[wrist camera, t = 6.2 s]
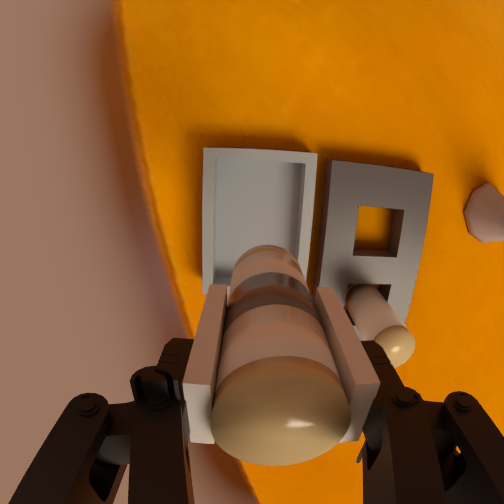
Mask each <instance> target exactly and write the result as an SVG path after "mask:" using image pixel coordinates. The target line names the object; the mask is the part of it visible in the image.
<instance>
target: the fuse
mask: <svg viewBox="0 0 504 504" xmlns="http://www.w3.org/2000/svg"><path fill="white" fill-rule="evenodd" d="M344 305H345V306H346V308H347V310H348V312H349V314H350V316H351V318H352V320H353V321H354V323H355V325H356V327H357V329H358V331H359V333H360V335H361V337H362V339H363V341H367V340H374V341H375V342H376V343H378V344H379V345H380V346H381V347H383V349H384V351H385V353H386V354H387V357H388V358H389V360H390V361H391V364H392V365H393V367H394V368H396V367H398V366H400V365H402V364H403V363H405V362H406V361H407V360H408V359H409V358H410V357H411V355H412V353H413V352H414V349H415V339H414V337H413V335H412V334H411V333H410V331H409V330H408V329H407V327H406V326H405V325H404V323H403V322H402V321H401V319H400V318H399V317H398V315H397V314H396V313H395V311H394V310H393V309H392V308H391V306H390V305H389V304H388V302H387V301H386V300H385V299H384V297H383V296H382V295H381V294H380V292H379V291H378V290H377V288H376V287H375V286H374V285H373V284H349V285H348V287H347V292H346V298H345V304H344Z"/></svg>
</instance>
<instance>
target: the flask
mask: <svg viewBox="0 0 504 504" xmlns="http://www.w3.org/2000/svg"><path fill="white" fill-rule="evenodd" d="M464 215H465V219H466V223H467V227H468V231H469V234H471V235H472V236H474V237H475V238H476V239H478V240H479V241H480V242H482V243H485V242H495V241H504V196H503V195H502V194H501V193H500V192H499V191H498V190H497V189H495V188H494V187H493V186H492V185H491V184H490V183H489V182H487V183H486V184H484V185H482V186H481V187H479V188H478V189H476V190H474V191H473V193H472V195H471V197H470V199H469V202H468V204H467V206H466V208H465V211H464Z"/></svg>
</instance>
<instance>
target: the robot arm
mask: <svg viewBox="0 0 504 504" xmlns="http://www.w3.org/2000/svg"><path fill="white" fill-rule="evenodd" d="M314 305H315V308H316V311H317V314H318V316H319V319H320V322H321V325H322V327H323V330H324V333H325V336H326V339H327V342H328V344H329V347H330V350H331V353H332V356H333V359H334V362H335V365H336V368H337V371H338V373H339V376H340V379H341V382H342V385H343V388H344V391H345V394H346V397H347V400H348V403H349V407H350V410H351V423H350V426H349V429H348V431H347V433H346V434H345V436H344V437H343V438H342V439H341V440H340V442H339V443H341V442H351V441H358V440H359V438H360V435H361V433H362V431H363V433H364V436H365V439H366V440H365V442H364V445H363V447H362V449H361V451H360V453H359V455H358V457H357V462H356V463H359V462H360V460H361V458H362V460H363V504H504V437H503V435H502V434H501V432H500V431H499V429H498V428H497V427H496V425H495V424H494V423H493V421H492V420H491V418H490V417H489V416H488V414H487V413H486V412H485V410H484V409H483V408H482V406H481V405H480V404H479V402H478V401H477V400H476V399H475V398H474V397H473V396H472V395H470V394H468V393H465V392H461V391H458V392H452V393H450V394H449V395H448V396H447V397H446V399H445V401H444V403H443V402H431V401H424V400H423V399H422V398H421V396H420V394H419V393H417V392H416V391H415V390H413V389H411V388H408V387H404V385H403V383H402V381H401V379H400V378H399V376H398V374H397V372H396V370H395V369H394V367H393V365H392V364H391V361H390V360H389V358H388V357H387V354H386V353H385V351H384V349H383V347H381V346H380V345H379V344H378V343H376V342H375V341H374V340H367V341H360V339H359V337H358V335H357V333H356V332H355V330H354V328H353V326H352V324H351V322H350V320H349V318H348V316H347V314H346V312H345V310H344V308H343V306H342V304H341V302H340V300H339V298H338V296H337V295H336V293H335V291H334V289H333V288H330V287H317V289H316V296H315V304H314ZM226 311H227V285H222V284H210V286H209V289H208V293H207V296H206V300H205V303H204V307H203V310H202V314H201V317H200V321H199V324H198V328H197V331H196V335H195V338H194V339H182V338H173V339H172V340H170V341H169V342H168V343H167V344H166V345H165V346H164V349H163V351H162V354H161V356H160V359H159V363H158V364H157V366H150V367H144V368H142V369H140V370H138V371H136V372H135V373H134V374H133V375H132V377H131V379H130V384H131V388H132V392H133V396H134V400H135V401H132V402H128V403H121V404H108V401H107V400H106V399H105V398H104V397H103V396H101V395H98V394H96V393H85V394H80V395H78V396H77V397H74V398H73V399H72V400H71V401H70V402H69V404H68V405H67V407H66V408H65V410H64V411H63V413H62V414H61V416H60V417H59V419H58V421H57V422H56V424H55V425H54V427H53V429H52V430H51V432H50V433H49V435H48V436H47V438H46V440H45V441H44V443H43V445H42V446H41V448H40V450H39V451H38V453H37V454H36V456H35V458H34V460H33V461H32V463H31V465H30V467H29V468H28V470H27V471H26V473H25V475H24V477H23V478H22V480H21V482H20V484H19V485H18V487H17V489H16V491H15V493H14V495H13V496H12V498H11V500H10V502H9V504H113V502H114V499H115V497H116V494H117V491H118V488H119V486H120V483H121V480H122V478H123V475H124V472H125V470H126V467H127V464H130V468H129V490H128V504H195V503H194V496H193V487H192V478H191V468H190V458H189V450H188V440H189V435H190V441H191V442H195V443H206V444H214V441H215V440H214V438H213V436H212V433H211V428H210V427H211V416H212V409H213V401H214V394H215V387H216V380H217V373H218V366H219V359H220V352H221V345H222V338H223V331H224V324H225V318H226ZM457 446H458V448H459V449H460V451H461V453H458V452H457V450H456V447H457Z"/></svg>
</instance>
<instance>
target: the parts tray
mask: <svg viewBox="0 0 504 504" xmlns="http://www.w3.org/2000/svg"><path fill="white" fill-rule="evenodd" d="M317 154H318V153H310V152H298V151H284V150H267V149H245V148H204V150H203V193H202V282H203V294H207V293H208V289H209V286H210V284H222V285H227V296H229V291H230V285H231V278H232V272H233V268H234V265H235V263H236V262H237V260H238V259H239V257H240V256H241V255H242V254H243V253H245V252H246V251H248V250H249V249H251V248H253V247H256V246H260V245H275V246H279V247H282V248H284V249H286V250H287V251H289V252H290V253H291V254H292V255H293V256H294V257H295V258H296V259H297V261H298V263H299V265H300V267H301V270H302V273H303V275H304V278H305V281H306V277H307V268H308V259H309V250H310V240H311V230H312V219H313V208H314V196H315V183H316V169H317Z"/></svg>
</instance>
